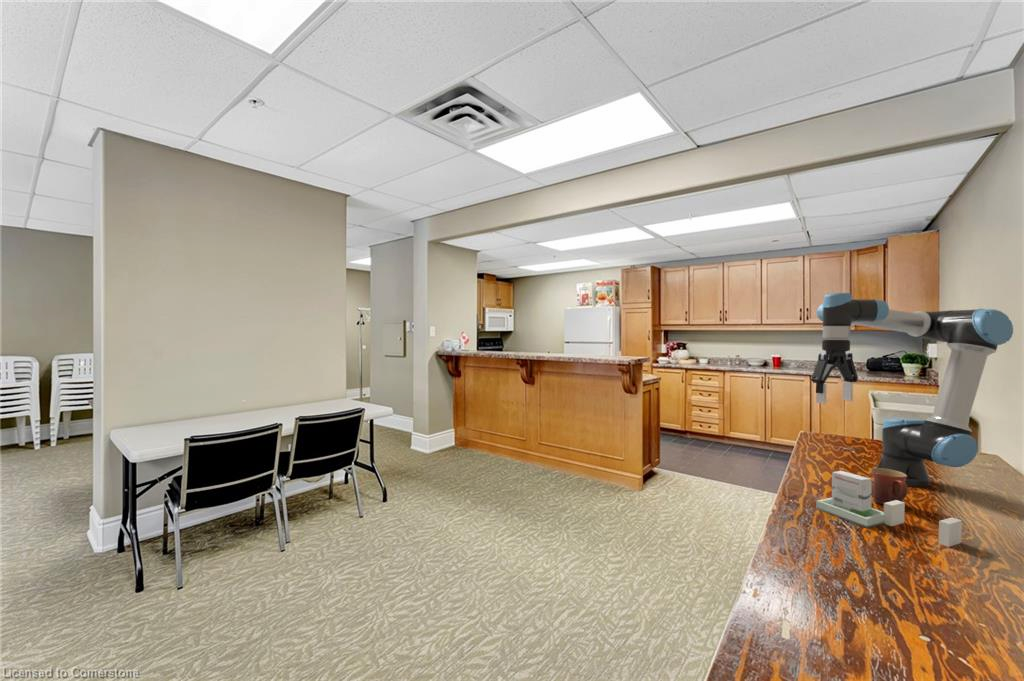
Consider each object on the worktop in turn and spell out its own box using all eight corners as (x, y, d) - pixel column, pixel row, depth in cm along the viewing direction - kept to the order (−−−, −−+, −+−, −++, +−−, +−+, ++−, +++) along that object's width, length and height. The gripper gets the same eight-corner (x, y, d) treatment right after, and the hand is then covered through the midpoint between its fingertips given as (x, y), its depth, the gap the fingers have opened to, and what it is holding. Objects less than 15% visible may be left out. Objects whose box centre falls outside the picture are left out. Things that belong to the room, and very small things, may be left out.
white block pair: (895, 520, 127) (896, 500, 127) (961, 542, 114) (961, 520, 113) (883, 523, 125) (884, 502, 125) (948, 547, 111) (949, 524, 111)
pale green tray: (837, 504, 138) (837, 496, 138) (888, 522, 125) (888, 513, 125) (816, 508, 135) (816, 500, 135) (866, 528, 122) (867, 519, 122)
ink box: (872, 518, 127) (873, 478, 127) (862, 520, 125) (863, 480, 125) (840, 506, 135) (841, 469, 135) (830, 509, 133) (831, 471, 133)
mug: (864, 497, 144) (865, 467, 144) (894, 499, 142) (895, 469, 142) (887, 512, 132) (888, 479, 132) (920, 515, 131) (922, 481, 130)
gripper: (847, 338, 153) (846, 398, 154) (799, 339, 144) (798, 402, 144) (871, 339, 146) (870, 401, 147) (823, 339, 137) (821, 406, 137)
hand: (834, 402), depth 146 cm, fingers open, 13 cm apart
